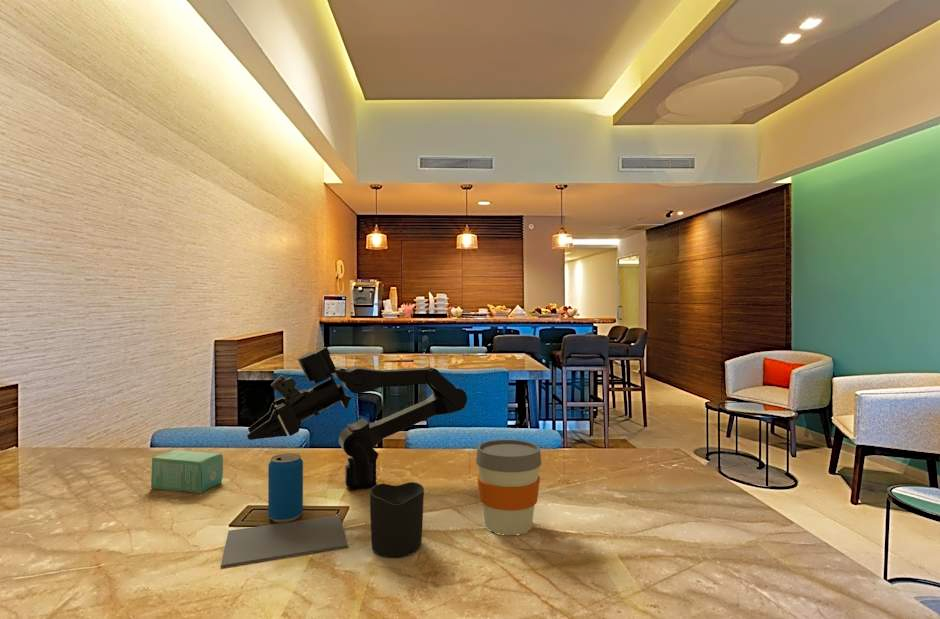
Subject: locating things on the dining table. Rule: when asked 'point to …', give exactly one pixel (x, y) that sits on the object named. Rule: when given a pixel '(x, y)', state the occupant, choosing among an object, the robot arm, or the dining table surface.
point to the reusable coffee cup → (508, 484)
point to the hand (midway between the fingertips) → (248, 434)
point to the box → (187, 471)
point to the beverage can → (285, 487)
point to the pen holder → (396, 519)
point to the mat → (283, 540)
